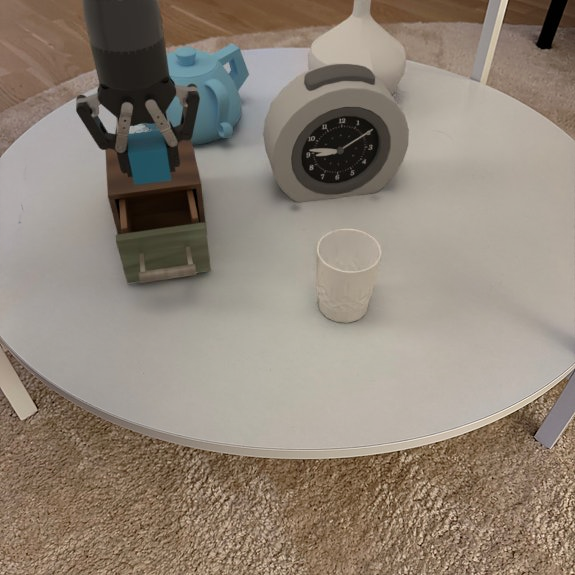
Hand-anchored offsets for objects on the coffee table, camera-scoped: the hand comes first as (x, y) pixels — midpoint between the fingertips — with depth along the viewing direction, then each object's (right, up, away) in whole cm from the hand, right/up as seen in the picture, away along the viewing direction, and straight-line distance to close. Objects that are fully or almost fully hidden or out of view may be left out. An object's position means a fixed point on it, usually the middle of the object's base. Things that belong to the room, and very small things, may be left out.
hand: (151, 170), depth 74 cm
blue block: (0, 0, 0) cm, 0 cm away
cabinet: (-3, -3, +20) cm, 20 cm away
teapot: (-1, +16, +38) cm, 41 cm away
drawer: (0, -10, +11) cm, 15 cm away
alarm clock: (+24, +3, +25) cm, 35 cm away
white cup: (+24, -17, +7) cm, 30 cm away
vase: (+30, +23, +45) cm, 58 cm away
